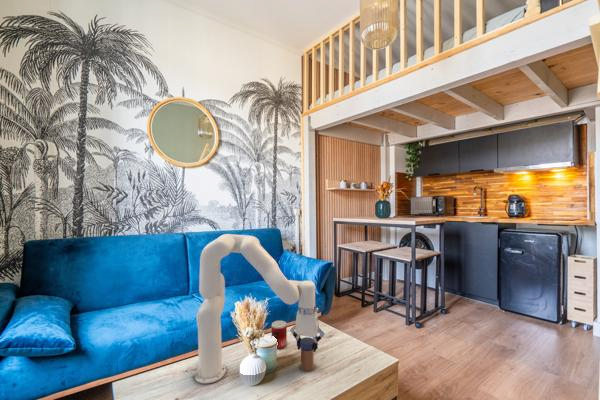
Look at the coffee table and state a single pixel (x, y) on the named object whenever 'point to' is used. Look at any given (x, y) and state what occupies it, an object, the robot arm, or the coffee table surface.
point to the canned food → (280, 333)
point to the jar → (307, 360)
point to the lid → (306, 343)
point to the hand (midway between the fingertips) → (307, 348)
